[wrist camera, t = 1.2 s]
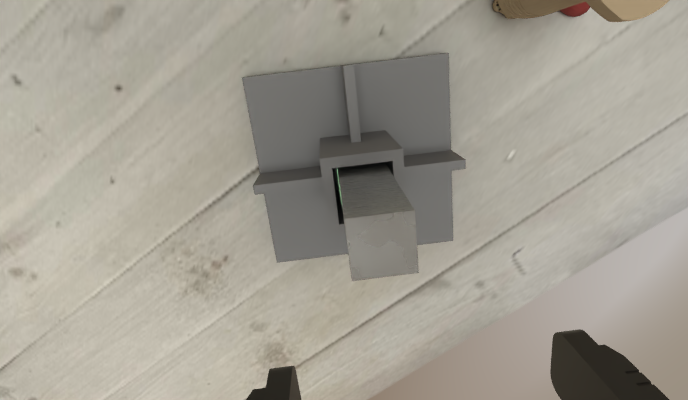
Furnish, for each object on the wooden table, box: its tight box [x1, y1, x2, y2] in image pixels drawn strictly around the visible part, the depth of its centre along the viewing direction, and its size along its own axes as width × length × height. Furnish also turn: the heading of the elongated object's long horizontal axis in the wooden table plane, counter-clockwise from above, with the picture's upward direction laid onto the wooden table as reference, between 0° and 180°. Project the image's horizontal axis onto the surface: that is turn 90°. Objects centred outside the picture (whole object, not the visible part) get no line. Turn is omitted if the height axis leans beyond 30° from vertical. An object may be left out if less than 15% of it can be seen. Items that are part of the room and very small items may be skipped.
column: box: [337, 162, 419, 281], centre depth 29 cm, size 4×4×17 cm
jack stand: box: [242, 53, 466, 263], centre depth 33 cm, size 18×18×12 cm
